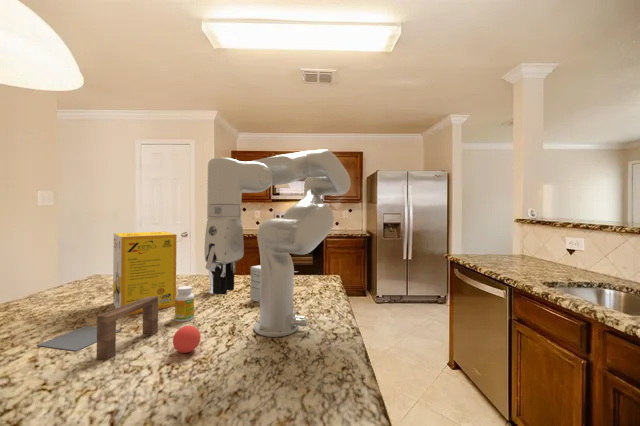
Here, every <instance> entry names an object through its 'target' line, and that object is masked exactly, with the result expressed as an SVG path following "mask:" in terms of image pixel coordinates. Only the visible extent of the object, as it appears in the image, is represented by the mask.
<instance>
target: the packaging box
mask: <svg viewBox="0 0 640 426" xmlns="http://www.w3.org/2000/svg"><path fill="white" fill-rule="evenodd" d="M177 240H178V239H177V234H175V233H171V232H168V231H145V232H144V231H142V232H139V231H138V232H118V233H117V232H115V233H113V254H112V255H113V260H112V262H113V265H112V266H113V267H112V268H113V271H112V272H113V275H112V279H113V281H112V284H113V285H112V298H113V299H112V304H113V305H114V309H116V308H119V307H122V306H124V305H127V304H130V303H132V302H135V301H138V300H140V299H143V298H146V297H149V296H150V297H158V310H161V309H166V308H171V307H175V297H176V295H177ZM140 313H143V308H141V309H139V310H136V311H134V312H132V313H129V314H127V315H124V316H129V315H136V314H140ZM124 316H123V317H124Z"/></svg>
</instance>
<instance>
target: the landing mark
mask: <svg viewBox="0 0 640 426" xmlns="http://www.w3.org/2000/svg"><path fill="white" fill-rule="evenodd" d="M120 332H121V329H116V334H117V333H120ZM94 344H97V326H89V325H84V326H82V327H79V328H77V329H74V330H71V331H69V332H67V333H64V334H62V335H59V336H56V337H53V338H51V339H49V340H46V341H44V342H43V341H42V342H41V343H38V344H37V345H36V346H37V347H42V346H43V348H50V349H57V350H63V351H64V350H65V351H70V352H71V351H72V352H78V351H81V350H83V349H85V348H88V347H89V346H92V345H94Z"/></svg>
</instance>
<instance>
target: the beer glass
mask: <svg viewBox="0 0 640 426" xmlns="http://www.w3.org/2000/svg"><path fill="white" fill-rule="evenodd" d="M216 262H218V261H216ZM219 267H220V269H221V266H219ZM207 272H208V273H207V274H208V278H209V290H208V294H210V295H215V294H214V293H213V277H212V273H211V271H210V270H208V269H207Z"/></svg>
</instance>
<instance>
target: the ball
mask: <svg viewBox="0 0 640 426" xmlns="http://www.w3.org/2000/svg"><path fill="white" fill-rule="evenodd" d="M200 341H201V333H200V330H199V329H198V328H197V327H196V326H193V325H184V326H182V327H180V328H179V329H177V331H176V332H174V335H173V337H172V346H173V347H174V349H175V351H177V352H179V353H182V354H187V353H190V352H193V351H194V350H195V349H196V348H197V347H199V344H200Z"/></svg>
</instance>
